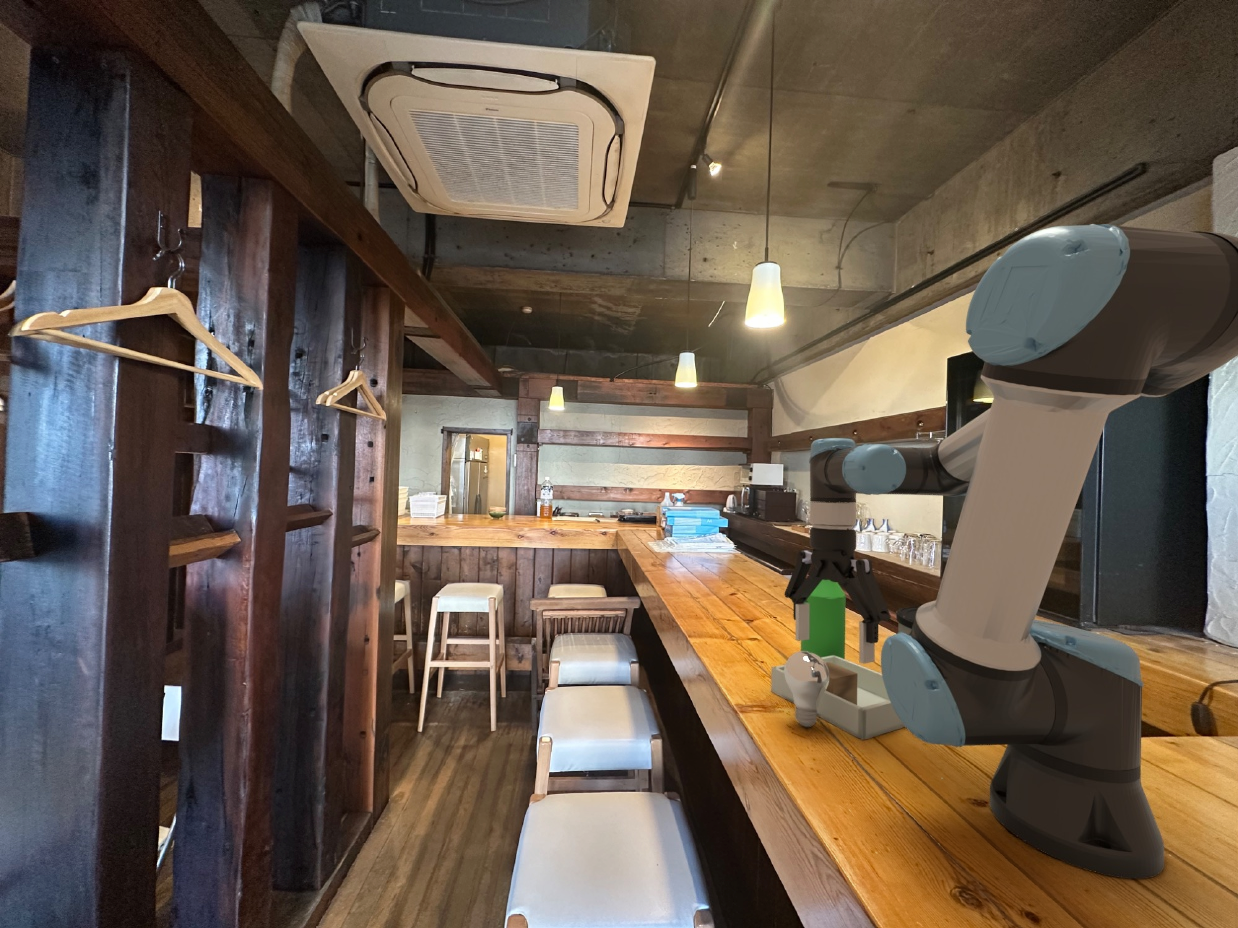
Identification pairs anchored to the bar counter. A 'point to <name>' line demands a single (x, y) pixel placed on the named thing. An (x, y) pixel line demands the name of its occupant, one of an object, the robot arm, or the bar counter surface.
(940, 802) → the bar counter surface
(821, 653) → the bottle
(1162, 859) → the robot arm
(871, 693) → the tray
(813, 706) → the light bulb
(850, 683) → the walnut block
